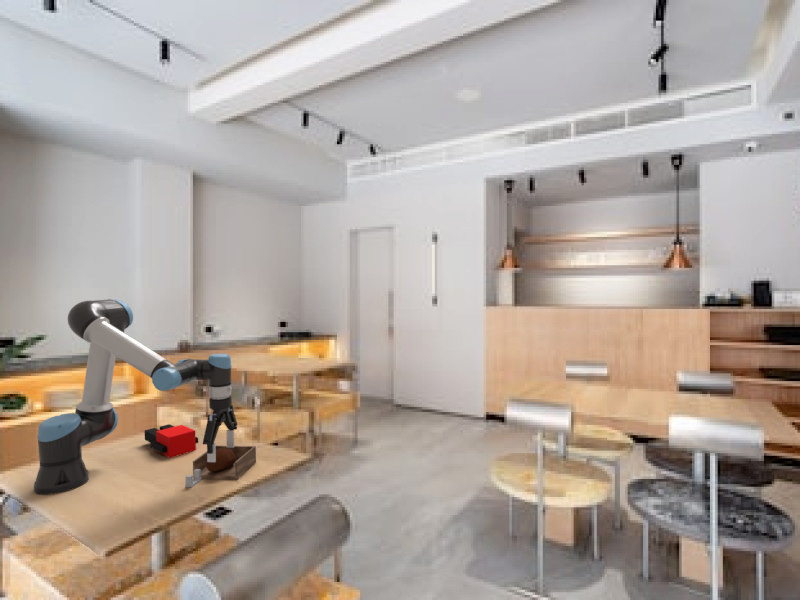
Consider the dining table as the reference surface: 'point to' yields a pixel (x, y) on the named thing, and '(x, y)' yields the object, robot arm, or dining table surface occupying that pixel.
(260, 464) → the dining table surface
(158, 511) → the dining table surface
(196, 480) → the clip
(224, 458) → the potato
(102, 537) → the dining table surface
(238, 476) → the holder
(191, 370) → the robot arm
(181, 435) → the red-and-black block model
